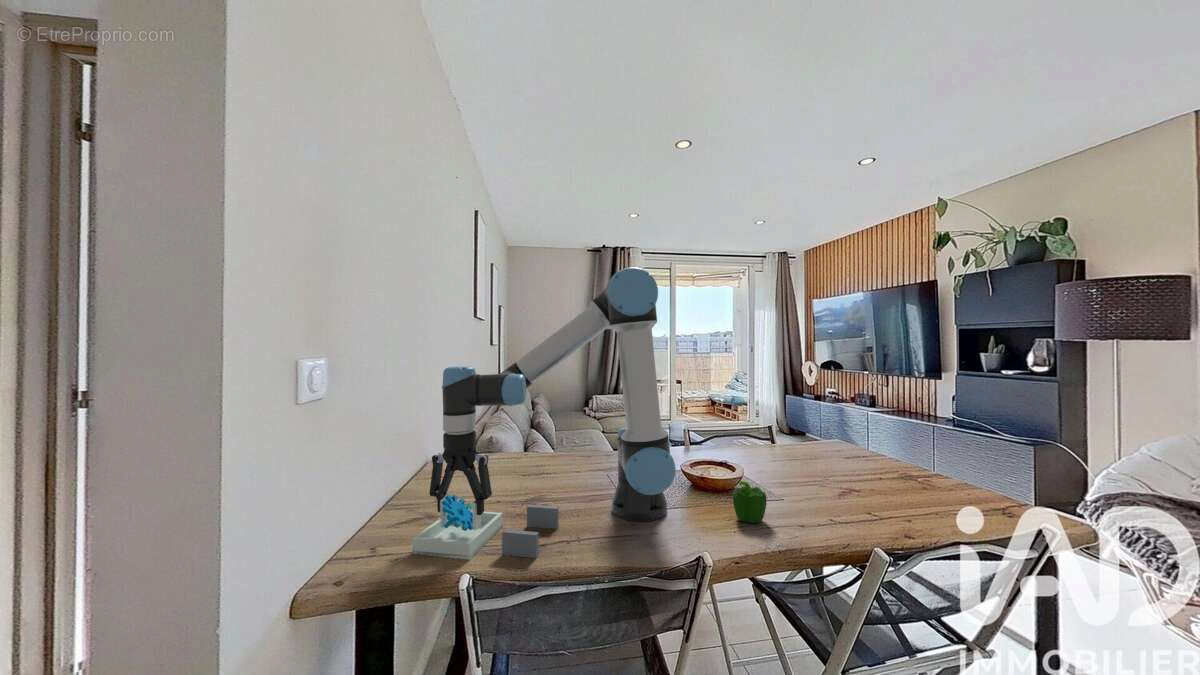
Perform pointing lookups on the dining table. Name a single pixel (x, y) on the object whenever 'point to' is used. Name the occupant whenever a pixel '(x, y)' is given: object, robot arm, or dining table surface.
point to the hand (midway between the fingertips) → (460, 526)
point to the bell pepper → (749, 503)
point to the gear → (458, 512)
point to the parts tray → (457, 538)
